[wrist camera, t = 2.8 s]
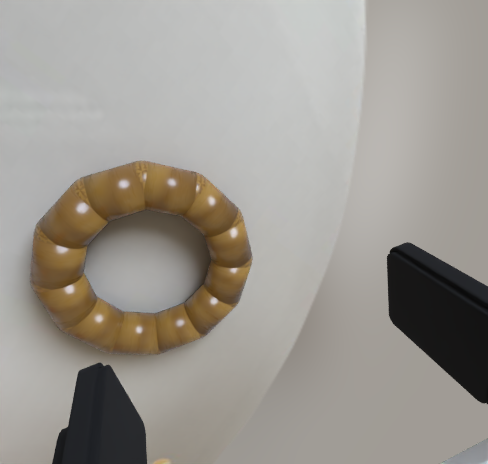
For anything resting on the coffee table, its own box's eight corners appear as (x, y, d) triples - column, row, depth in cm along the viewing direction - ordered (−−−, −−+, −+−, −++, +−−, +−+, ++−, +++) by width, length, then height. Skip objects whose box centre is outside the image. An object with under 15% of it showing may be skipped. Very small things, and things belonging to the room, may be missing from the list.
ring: (217, 133, 15) (228, 140, 13) (259, 298, 20) (271, 319, 18) (-7, 198, 14) (-29, 215, 12) (93, 360, 18) (88, 391, 16)
